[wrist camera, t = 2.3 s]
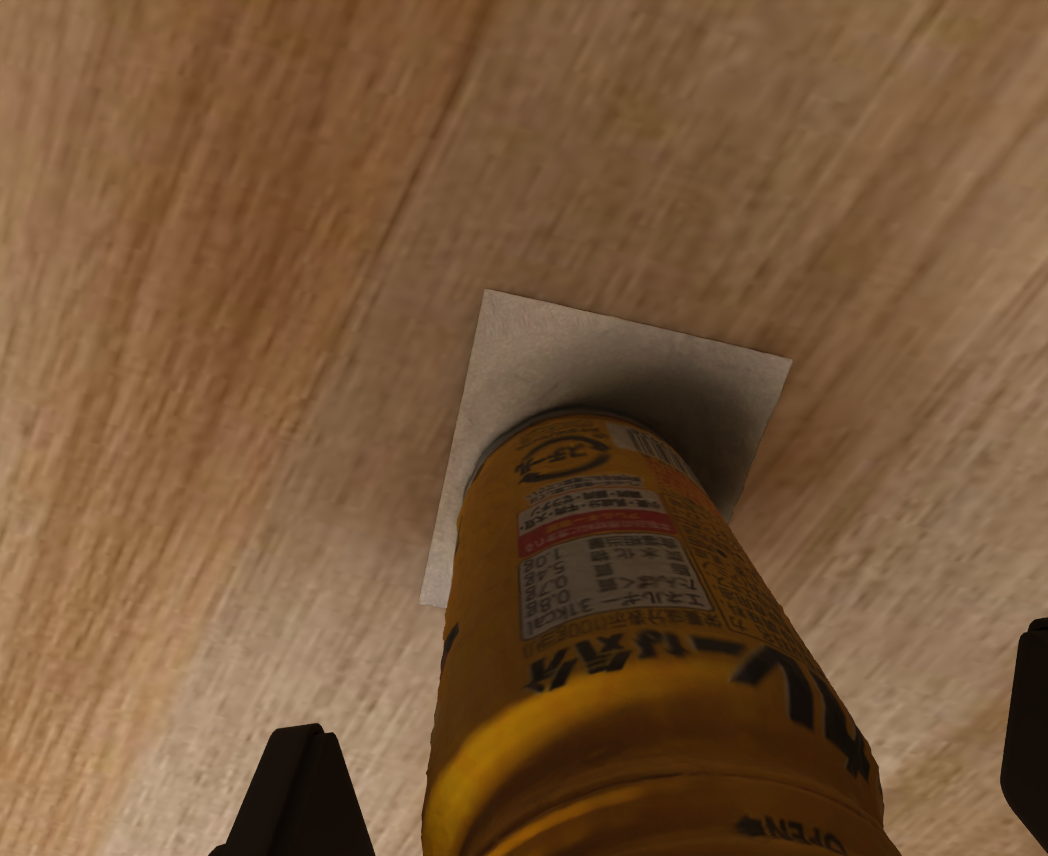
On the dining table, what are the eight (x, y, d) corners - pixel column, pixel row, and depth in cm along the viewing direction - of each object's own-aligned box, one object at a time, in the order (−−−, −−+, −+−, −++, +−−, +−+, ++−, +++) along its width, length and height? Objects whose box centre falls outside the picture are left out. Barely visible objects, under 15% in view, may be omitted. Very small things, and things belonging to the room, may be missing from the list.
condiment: (419, 599, 18) (283, 1332, 6) (485, 287, 15) (443, 634, 4) (677, 643, 19) (954, 1361, 7) (787, 355, 16) (1519, 812, 4)
